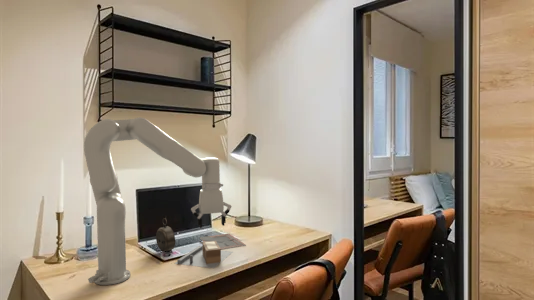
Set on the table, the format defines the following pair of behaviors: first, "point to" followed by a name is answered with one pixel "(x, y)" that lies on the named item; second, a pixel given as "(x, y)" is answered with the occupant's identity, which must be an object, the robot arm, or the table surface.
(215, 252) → the brown cardboard box
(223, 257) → the wall board
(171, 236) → the alarm clock
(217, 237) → the picture frame
